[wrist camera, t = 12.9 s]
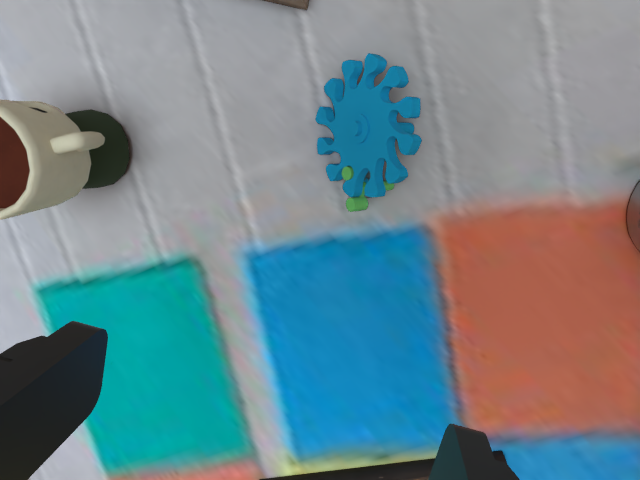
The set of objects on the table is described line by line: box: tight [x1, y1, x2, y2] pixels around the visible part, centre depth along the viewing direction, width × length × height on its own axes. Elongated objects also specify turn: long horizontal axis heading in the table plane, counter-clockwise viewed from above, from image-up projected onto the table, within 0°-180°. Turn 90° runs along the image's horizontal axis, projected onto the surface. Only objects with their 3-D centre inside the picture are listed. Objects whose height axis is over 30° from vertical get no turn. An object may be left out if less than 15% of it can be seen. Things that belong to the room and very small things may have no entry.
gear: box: [316, 53, 422, 212], centre depth 36 cm, size 11×6×10 cm
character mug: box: [0, 100, 129, 220], centre depth 35 cm, size 11×7×13 cm, turn 103°
